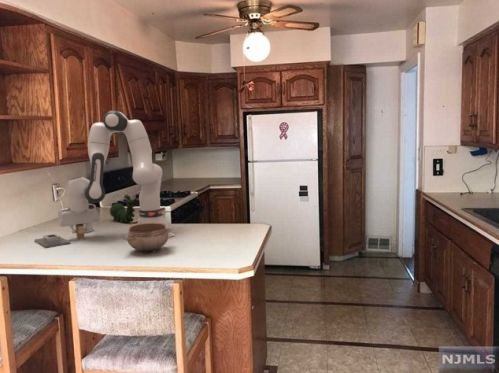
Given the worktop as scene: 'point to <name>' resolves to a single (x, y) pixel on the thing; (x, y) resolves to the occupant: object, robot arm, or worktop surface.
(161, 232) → the cooking pot
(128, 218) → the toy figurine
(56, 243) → the base
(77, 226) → the brown wooden block
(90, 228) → the supplement box
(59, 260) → the worktop surface
